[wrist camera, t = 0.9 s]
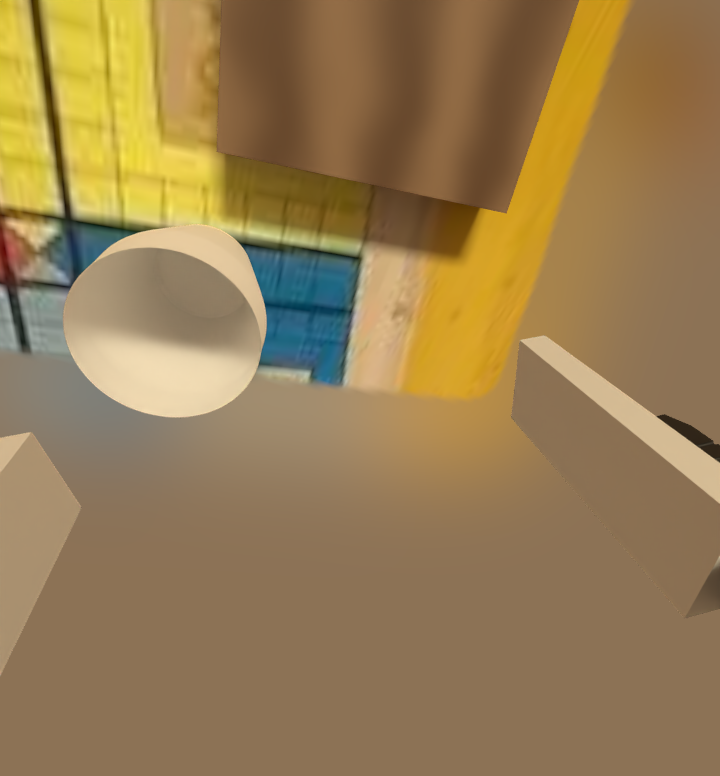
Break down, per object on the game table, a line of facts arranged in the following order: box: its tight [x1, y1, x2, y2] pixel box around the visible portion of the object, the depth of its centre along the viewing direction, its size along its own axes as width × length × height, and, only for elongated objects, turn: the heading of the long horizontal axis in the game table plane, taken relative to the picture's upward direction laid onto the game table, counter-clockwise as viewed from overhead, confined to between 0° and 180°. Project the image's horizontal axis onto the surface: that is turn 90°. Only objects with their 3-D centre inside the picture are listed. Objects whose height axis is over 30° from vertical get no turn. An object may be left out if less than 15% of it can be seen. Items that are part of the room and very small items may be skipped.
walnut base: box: [217, 0, 579, 213], centre depth 23 cm, size 18×18×4 cm
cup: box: [63, 224, 266, 417], centre depth 25 cm, size 9×9×12 cm
